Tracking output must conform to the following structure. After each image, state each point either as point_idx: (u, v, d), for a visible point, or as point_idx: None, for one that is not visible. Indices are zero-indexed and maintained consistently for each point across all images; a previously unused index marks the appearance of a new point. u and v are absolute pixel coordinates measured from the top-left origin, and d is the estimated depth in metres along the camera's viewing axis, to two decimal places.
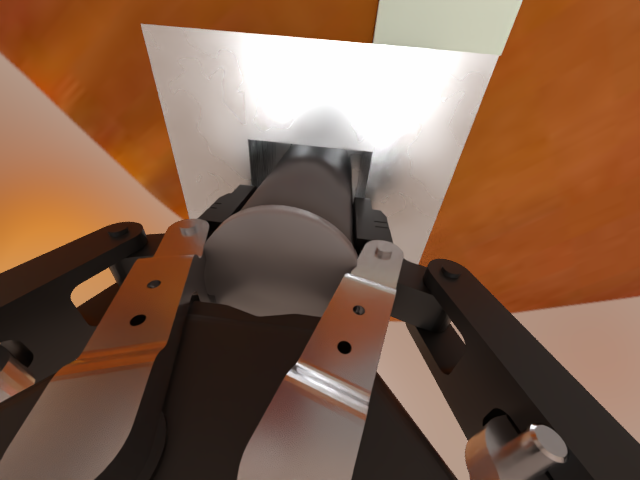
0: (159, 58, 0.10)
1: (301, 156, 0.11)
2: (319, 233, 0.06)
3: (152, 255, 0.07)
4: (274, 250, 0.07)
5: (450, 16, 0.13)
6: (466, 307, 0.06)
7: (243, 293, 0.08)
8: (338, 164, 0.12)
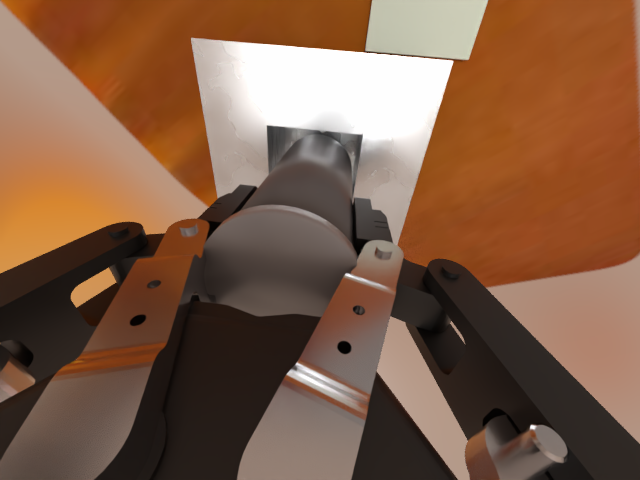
0: (202, 63, 0.13)
1: (301, 156, 0.11)
2: (319, 233, 0.06)
3: (152, 255, 0.07)
4: (274, 249, 0.07)
5: (426, 29, 0.16)
6: (466, 307, 0.06)
7: (243, 293, 0.08)
8: (338, 164, 0.12)
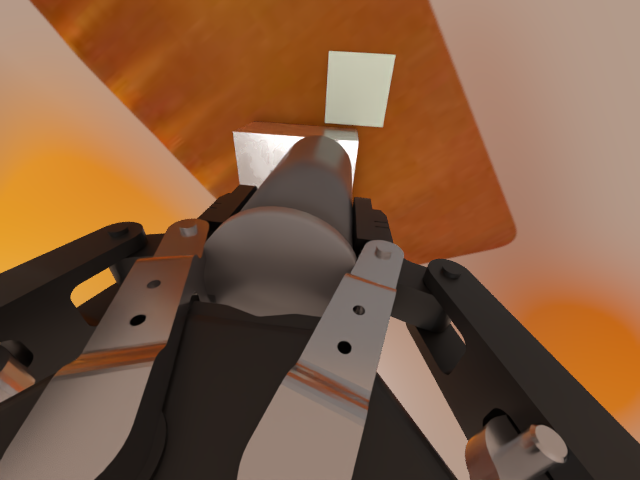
0: (237, 141, 0.26)
1: (301, 157, 0.11)
2: (318, 234, 0.06)
3: (152, 255, 0.07)
4: (273, 251, 0.07)
5: (357, 112, 0.29)
6: (466, 307, 0.06)
7: (242, 294, 0.08)
8: (338, 165, 0.12)
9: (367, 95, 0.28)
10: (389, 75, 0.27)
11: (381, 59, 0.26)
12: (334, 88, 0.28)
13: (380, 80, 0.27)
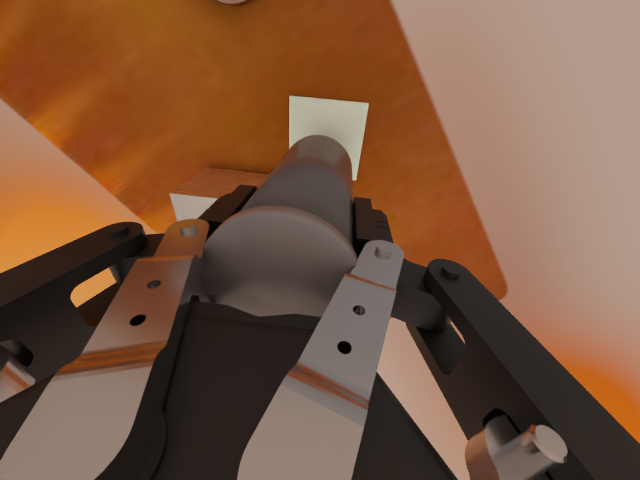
0: (177, 204, 0.22)
1: (301, 157, 0.11)
2: (318, 233, 0.06)
3: (152, 255, 0.07)
4: (274, 250, 0.07)
5: None
6: (466, 307, 0.06)
7: (243, 293, 0.08)
8: (338, 165, 0.12)
9: None
10: (362, 125, 0.23)
11: (351, 107, 0.22)
12: (298, 137, 0.24)
13: (352, 130, 0.23)
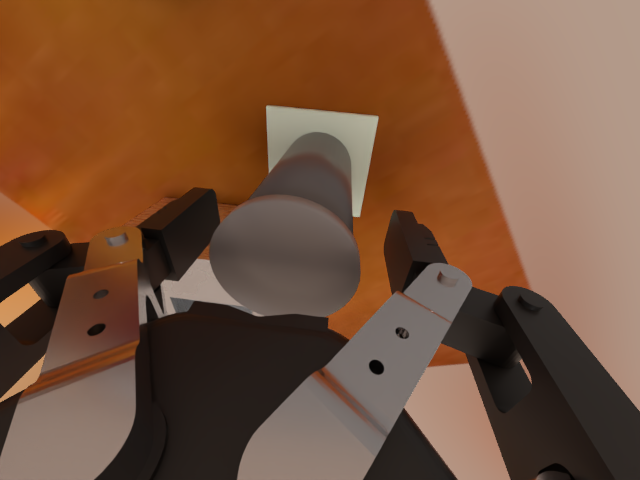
0: None
1: (303, 152, 0.12)
2: (321, 219, 0.07)
3: (72, 267, 0.07)
4: (279, 236, 0.07)
5: None
6: (541, 344, 0.05)
7: (249, 278, 0.09)
8: (338, 160, 0.13)
9: None
10: (368, 147, 0.16)
11: (354, 122, 0.16)
12: None
13: (354, 153, 0.17)
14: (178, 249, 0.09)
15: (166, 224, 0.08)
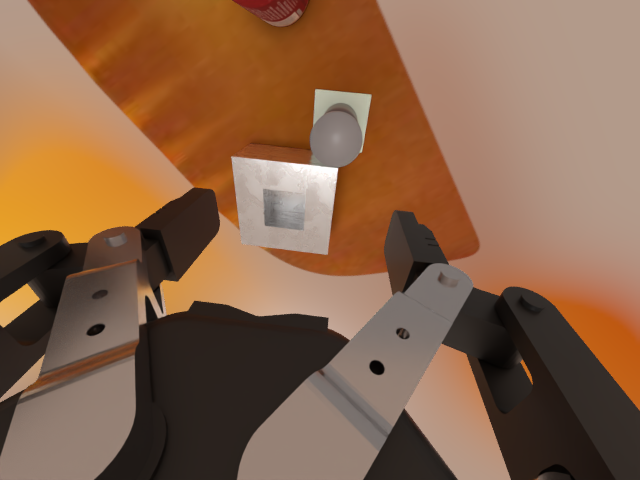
0: (235, 164, 0.31)
1: (337, 107, 0.27)
2: (350, 117, 0.22)
3: (71, 267, 0.07)
4: (336, 124, 0.23)
5: None
6: (542, 344, 0.05)
7: (323, 145, 0.24)
8: (352, 112, 0.28)
9: None
10: (366, 111, 0.32)
11: (359, 97, 0.31)
12: None
13: (359, 114, 0.32)
14: (177, 249, 0.09)
15: (165, 224, 0.08)
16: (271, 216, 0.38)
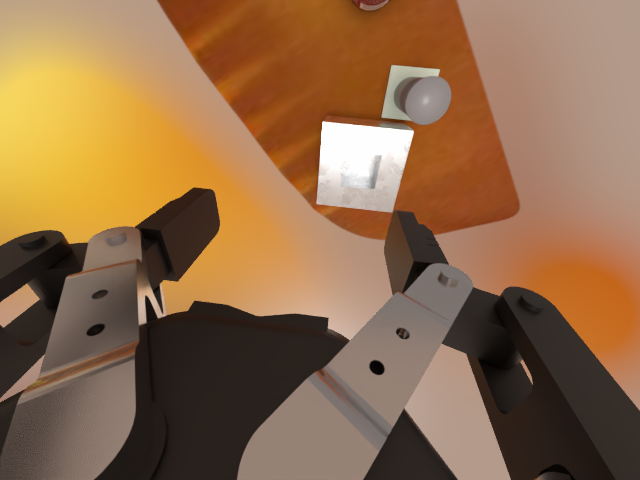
0: (325, 129, 0.36)
1: (418, 77, 0.33)
2: (443, 80, 0.28)
3: (71, 267, 0.07)
4: (431, 87, 0.28)
5: None
6: (542, 344, 0.05)
7: (416, 105, 0.29)
8: None
9: None
10: None
11: (429, 72, 0.36)
12: (392, 92, 0.38)
13: None
14: (177, 249, 0.09)
15: (165, 224, 0.08)
16: (342, 180, 0.43)
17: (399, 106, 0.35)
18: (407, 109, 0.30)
